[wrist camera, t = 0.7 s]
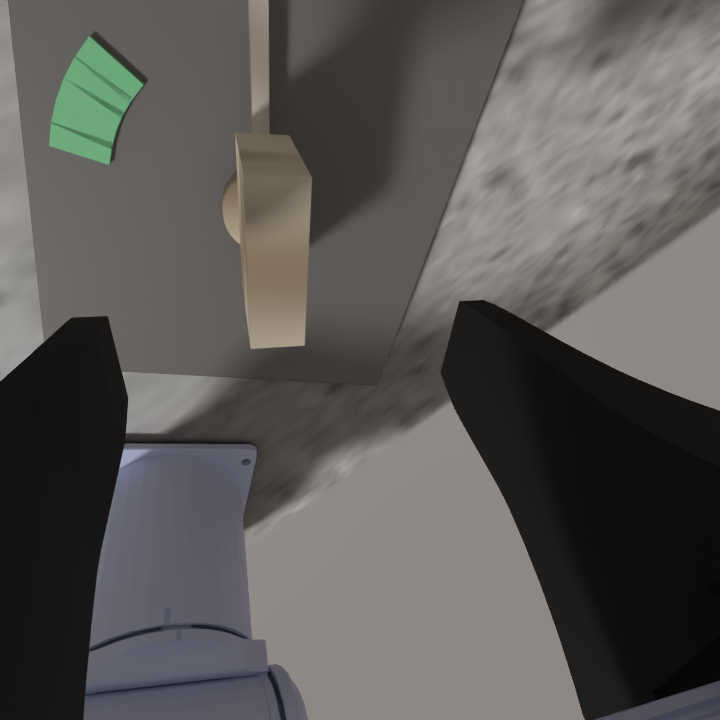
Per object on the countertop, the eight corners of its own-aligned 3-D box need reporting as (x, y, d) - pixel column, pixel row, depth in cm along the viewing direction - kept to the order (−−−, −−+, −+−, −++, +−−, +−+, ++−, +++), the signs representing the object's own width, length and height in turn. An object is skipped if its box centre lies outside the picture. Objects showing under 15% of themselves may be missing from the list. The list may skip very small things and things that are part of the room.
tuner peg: (296, 268, 19) (320, 344, 15) (226, 270, 18) (233, 350, 14) (304, -31, 13) (346, -32, 9) (205, -45, 13) (206, -53, 9)
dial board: (371, 372, 25) (378, 387, 24) (52, 352, 20) (45, 370, 19) (510, -8, 16) (528, -6, 15) (-2, -222, 11) (-21, -239, 10)
